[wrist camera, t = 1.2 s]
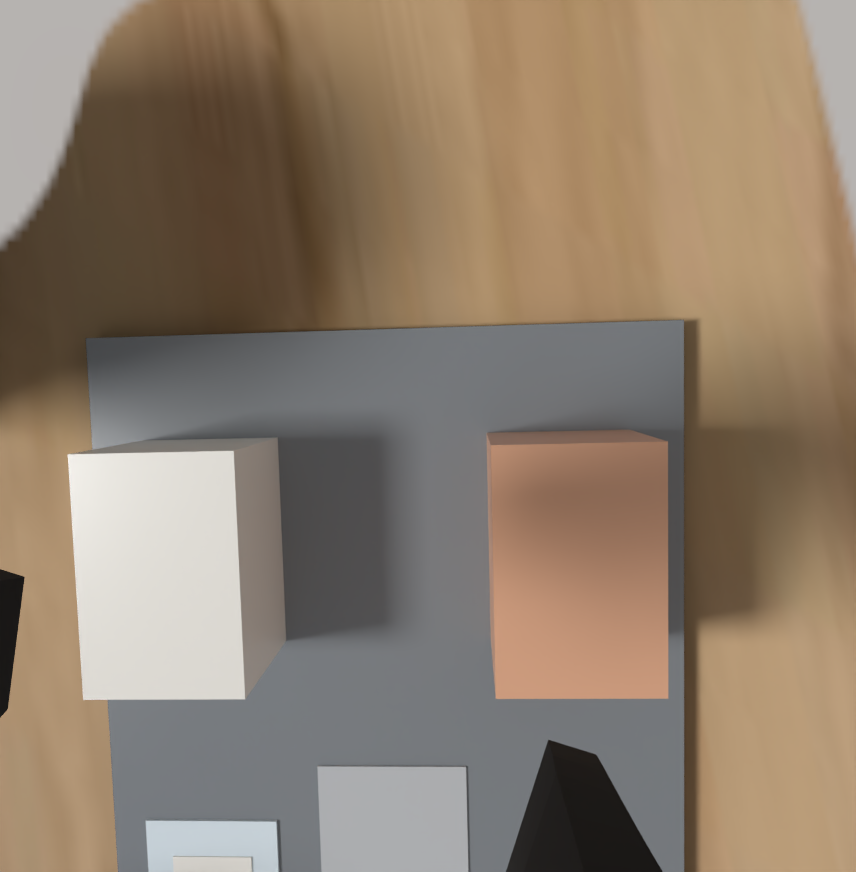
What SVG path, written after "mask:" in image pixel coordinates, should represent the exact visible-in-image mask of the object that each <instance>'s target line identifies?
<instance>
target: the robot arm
mask: <svg viewBox="0 0 856 872" xmlns="http://www.w3.org/2000/svg"><path fill="white" fill-rule="evenodd" d="M23 584H24V577H23V576H20V575H17V574H13V573H10V572H7V571H4V570H1V569H0V717H1V716H2V715H3V714H4V713H5V712H6V710H7V709H8V702H9V694H10V686H11V679H12V671H13V663H14V655H15V647H16V639H17V631H18V624H19V616H20V608H21V600H22V592H23ZM506 872H663V871H662V869H661V868H660V866H659V864H658V863H657V861H656V859H655V858H654V856H653V854H652V853H651V851H650V849H649V848H648V846H647V844H646V842H645V841H644V839H643V837H642V835H641V834H640V832H639V830H638V828H637V827H636V825H635V823H634V821H633V819H632V818H631V816H630V814H629V812H628V811H627V809H626V807H625V805H624V803H623V801H622V800H621V798H620V796H619V794H618V792H617V791H616V789H615V787H614V785H613V783H612V781H611V780H610V778H609V776H608V774H607V772H606V771H605V769H604V767H603V765H602V763H601V762H600V760H599V758H598V756H597V755H596V754H593V753H590V752H587V751H584V750H580V749H577V748H574V747H571V746H567V745H564V744H561V743H558V742H555V741H551V740H548V742H547V745H546V748H545V751H544V755H543V758H542V761H541V764H540V767H539V770H538V773H537V776H536V779H535V783H534V786H533V789H532V792H531V795H530V798H529V801H528V804H527V808H526V811H525V814H524V817H523V820H522V823H521V826H520V829H519V832H518V836H517V839H516V842H515V845H514V848H513V851H512V854H511V857H510V860H509V864H508V867H507V870H506Z"/></svg>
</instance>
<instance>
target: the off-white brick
mask: <svg viewBox="0 0 856 872" xmlns="http://www.w3.org/2000/svg"><path fill="white" fill-rule="evenodd" d="M68 465H69V481H70V497H71V513H72V528H73V544H74V560H75V576H76V592H77V608H78V623H79V639H80V655H81V671H82V687H83V700H212V699H246V698H247V696H248V695H249V693H250V692H251V690H252V689H253V687H254V686H255V685H256V683H257V682H258V680H259V679H260V677H261V676H262V675H263V673H264V672H265V670H266V669H267V667H268V666H269V665H270V663H271V662H272V660H273V659H274V657H275V656H276V655H277V653H278V652H279V650H280V649H281V647H282V646H283V645H284V643H285V642H286V625H285V601H284V577H283V553H282V529H281V505H280V481H279V457H278V437H275V438H230V439H185V440H142V441H137V442H131V443H126V444H120V445H115V446H110V447H104V448H99V449H94V450H88V451H83V452H78V453H72V454H68Z"/></svg>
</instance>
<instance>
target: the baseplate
mask: <svg viewBox="0 0 856 872" xmlns="http://www.w3.org/2000/svg"><path fill="white" fill-rule="evenodd" d="M86 350H87V367H88V383H89V400H90V416H91V433H92V449H93V450H94V449H99V448H104V447H110V446H115V445H120V444H126V443H131V442H137V441H142V440H185V439H230V438H275V437H278V457H279V481H280V505H281V529H282V553H283V577H284V601H285V625H286V642H285V643H284V645H283V646H282V647H281V649H280V650H279V652H278V653H277V655H276V656H275V657H274V659H273V660H272V662H271V663H270V665H269V666H268V667H267V669H266V670H265V672H264V673H263V675H262V676H261V677H260V679H259V680H258V682H257V683H256V685H255V686H254V687H253V689H252V690H251V692H250V693H249V695H248V696H247V698H246V699H212V700H108V713H109V730H110V746H111V763H112V779H113V796H114V812H115V829H116V845H117V862H118V872H506V870H507V867H508V864H509V860H510V857H511V854H512V851H513V848H514V845H515V842H516V839H517V836H518V832H519V829H520V826H521V823H522V820H523V817H524V814H525V811H526V808H527V804H528V801H529V798H530V795H531V792H532V789H533V786H534V783H535V779H536V776H537V773H538V770H539V767H540V764H541V761H542V758H543V755H544V751H545V748H546V745H547V742H548V740H551V741H555V742H558V743H561V744H564V745H567V746H571V747H574V748H577V749H580V750H584V751H587V752H590V753H593V754H596V755H597V756H598V758H599V760H600V762H601V763H602V765H603V767H604V769H605V771H606V772H607V774H608V776H609V778H610V780H611V781H612V783H613V785H614V787H615V789H616V791H617V792H618V794H619V796H620V798H621V800H622V801H623V803H624V805H625V807H626V809H627V811H628V812H629V814H630V816H631V818H632V819H633V821H634V823H635V825H636V827H637V828H638V830H639V832H640V834H641V835H642V837H643V839H644V841H645V842H646V844H647V846H648V848H649V849H650V851H651V853H652V854H653V856H654V858H655V859H656V861H657V863H658V864H659V866H660V868H661V869H662V871H663V872H684V320H668V321H636V322H603V323H570V324H537V325H504V326H471V327H439V328H406V329H373V330H340V331H307V332H274V333H242V334H209V335H176V336H143V337H110V338H86ZM589 430H632V431H636V432H639V433H642V434H645V435H649V436H652V437H655V438H658V439H661V440H665V441H668V699H496V695H495V684H494V672H493V660H492V648H491V628H490V579H489V530H488V481H487V433H499V432H544V431H589Z"/></svg>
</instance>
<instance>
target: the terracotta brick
mask: <svg viewBox="0 0 856 872" xmlns="http://www.w3.org/2000/svg"><path fill="white" fill-rule="evenodd" d="M487 481H488V530H489V579H490V628H491V648H492V660H493V672H494V684H495V695H496V699H668V441H665V440H661V439H658V438H655V437H652V436H649V435H645V434H642V433H639V432H636V431H632V430H589V431H544V432H499V433H487Z"/></svg>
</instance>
